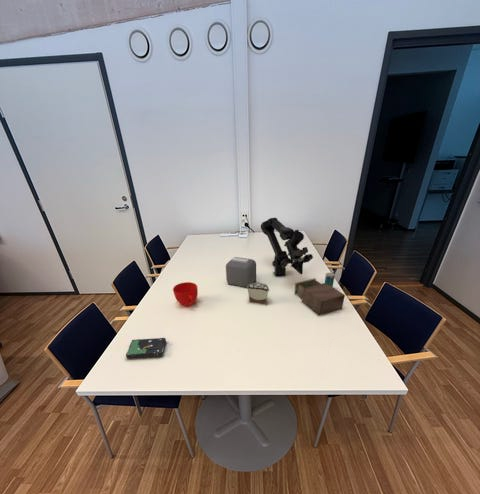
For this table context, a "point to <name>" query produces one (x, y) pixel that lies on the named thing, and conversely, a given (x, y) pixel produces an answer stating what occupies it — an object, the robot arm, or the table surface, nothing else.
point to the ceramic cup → (186, 293)
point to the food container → (258, 293)
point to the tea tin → (329, 279)
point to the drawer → (304, 286)
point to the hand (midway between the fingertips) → (301, 274)
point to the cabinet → (322, 298)
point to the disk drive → (146, 348)
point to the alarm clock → (241, 271)
